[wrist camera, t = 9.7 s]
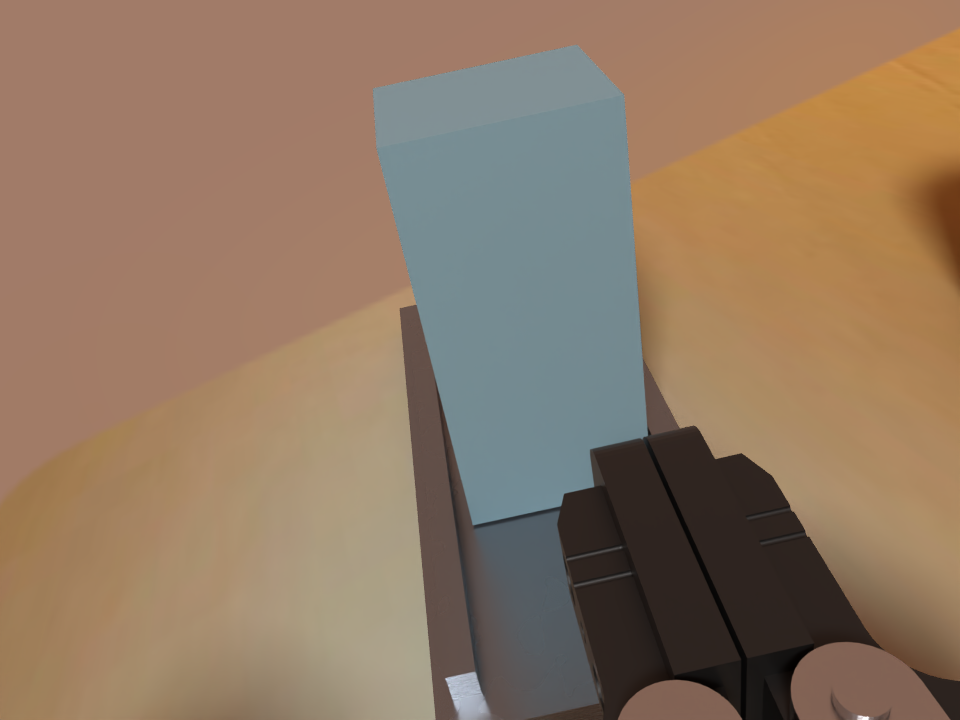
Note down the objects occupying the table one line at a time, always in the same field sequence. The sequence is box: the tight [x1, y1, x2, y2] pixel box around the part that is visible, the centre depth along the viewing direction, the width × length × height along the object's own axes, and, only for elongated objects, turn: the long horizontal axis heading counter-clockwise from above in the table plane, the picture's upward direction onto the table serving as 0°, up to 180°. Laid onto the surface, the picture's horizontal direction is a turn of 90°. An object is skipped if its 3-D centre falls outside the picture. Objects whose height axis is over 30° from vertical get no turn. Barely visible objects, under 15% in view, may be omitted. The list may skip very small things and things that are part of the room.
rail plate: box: [400, 305, 679, 720], centre depth 29 cm, size 22×10×6 cm, turn 7°
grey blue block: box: [373, 45, 648, 525], centre depth 28 cm, size 12×6×13 cm, turn 7°
